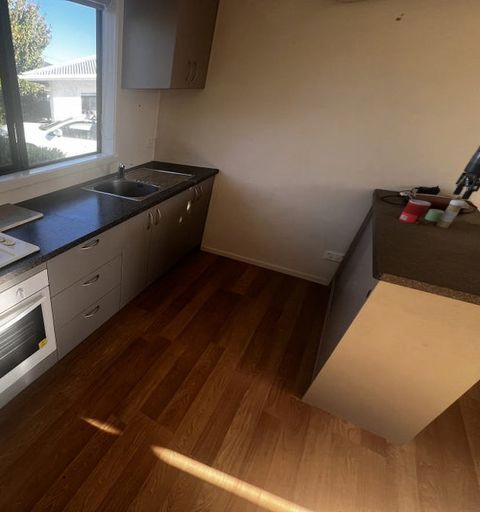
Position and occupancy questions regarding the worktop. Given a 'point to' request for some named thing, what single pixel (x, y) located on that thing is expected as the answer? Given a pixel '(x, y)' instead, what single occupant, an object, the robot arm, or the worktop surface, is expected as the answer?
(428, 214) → the green rounded block
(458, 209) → the sprinkles bottle
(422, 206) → the canned food
